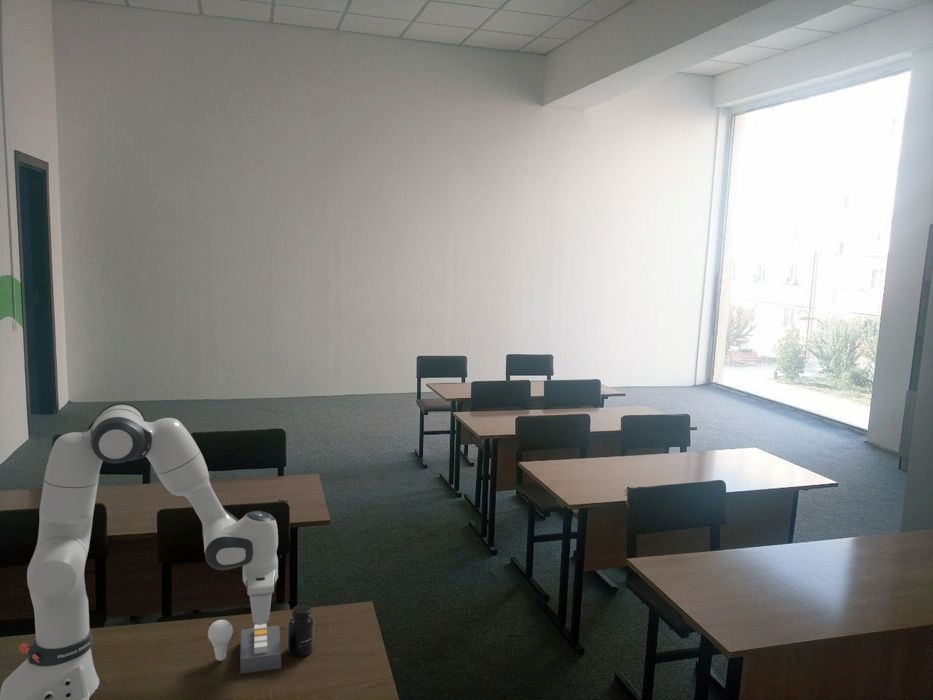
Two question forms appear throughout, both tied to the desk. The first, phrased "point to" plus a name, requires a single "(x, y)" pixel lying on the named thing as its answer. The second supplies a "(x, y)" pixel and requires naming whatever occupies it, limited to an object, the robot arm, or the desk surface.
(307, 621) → the supplement bottle
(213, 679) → the desk surface
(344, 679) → the desk surface
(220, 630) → the lightbulb
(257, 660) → the breaker strip
